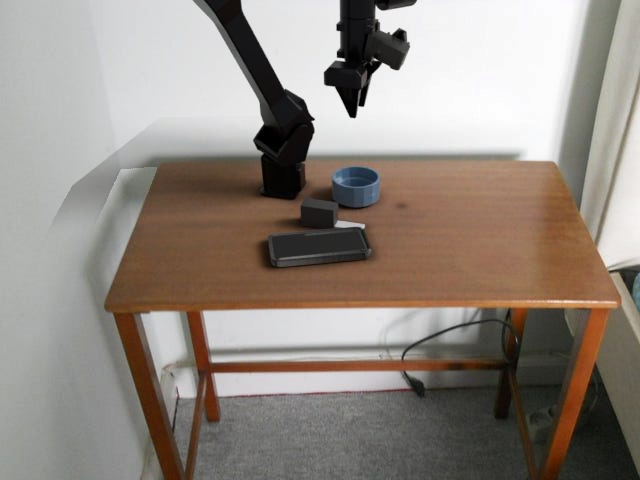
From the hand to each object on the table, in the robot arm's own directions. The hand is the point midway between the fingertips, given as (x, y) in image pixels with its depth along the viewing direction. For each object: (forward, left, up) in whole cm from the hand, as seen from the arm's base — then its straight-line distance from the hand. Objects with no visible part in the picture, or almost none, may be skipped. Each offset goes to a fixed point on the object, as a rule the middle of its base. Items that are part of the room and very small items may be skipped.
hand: (357, 112), depth 117 cm
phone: (+2, -29, -10) cm, 31 cm away
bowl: (+3, -11, -10) cm, 16 cm away
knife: (+2, -22, -10) cm, 24 cm away
